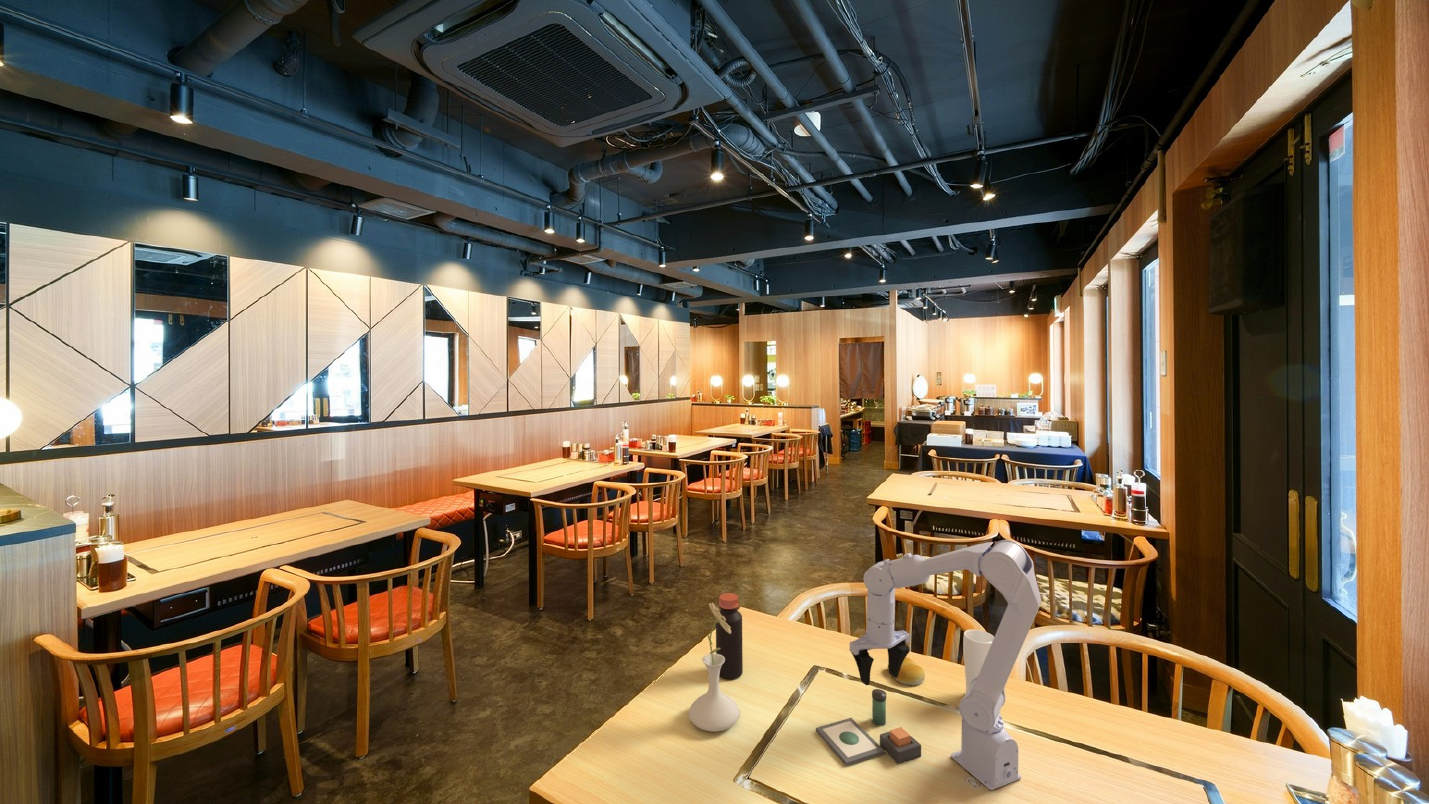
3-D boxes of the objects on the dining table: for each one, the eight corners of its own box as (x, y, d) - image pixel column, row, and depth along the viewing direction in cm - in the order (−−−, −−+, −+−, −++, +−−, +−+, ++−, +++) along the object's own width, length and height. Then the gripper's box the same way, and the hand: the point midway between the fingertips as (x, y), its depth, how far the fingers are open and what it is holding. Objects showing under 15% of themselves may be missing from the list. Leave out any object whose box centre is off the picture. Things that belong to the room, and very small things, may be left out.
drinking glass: (987, 690, 126) (988, 629, 125) (1000, 708, 119) (1001, 643, 118) (958, 689, 126) (958, 628, 126) (969, 706, 120) (969, 642, 119)
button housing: (921, 756, 104) (921, 745, 104) (898, 764, 102) (898, 752, 102) (901, 738, 109) (901, 727, 109) (879, 745, 107) (879, 734, 107)
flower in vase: (741, 737, 110) (740, 621, 109) (687, 738, 110) (685, 622, 109) (738, 699, 123) (737, 595, 122) (690, 700, 123) (688, 596, 122)
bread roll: (903, 689, 127) (903, 673, 127) (882, 670, 136) (882, 655, 135) (933, 684, 129) (933, 668, 129) (910, 665, 138) (910, 650, 138)
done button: (910, 744, 105) (910, 735, 105) (899, 748, 104) (899, 739, 104) (900, 735, 107) (900, 727, 107) (889, 739, 106) (889, 730, 106)
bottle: (712, 678, 132) (712, 600, 131) (720, 664, 139) (719, 590, 138) (739, 682, 130) (738, 603, 129) (745, 668, 137) (744, 593, 136)
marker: (889, 724, 114) (889, 695, 114) (877, 727, 113) (878, 698, 113) (880, 716, 117) (880, 687, 117) (869, 719, 116) (869, 690, 115)
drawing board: (884, 754, 105) (884, 749, 105) (846, 766, 102) (846, 762, 102) (851, 721, 115) (851, 716, 115) (815, 731, 112) (815, 727, 112)
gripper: (895, 605, 120) (893, 663, 121) (841, 615, 115) (840, 675, 116) (917, 619, 114) (915, 679, 114) (861, 630, 108) (860, 694, 109)
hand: (879, 679), depth 115 cm, fingers open, 7 cm apart
